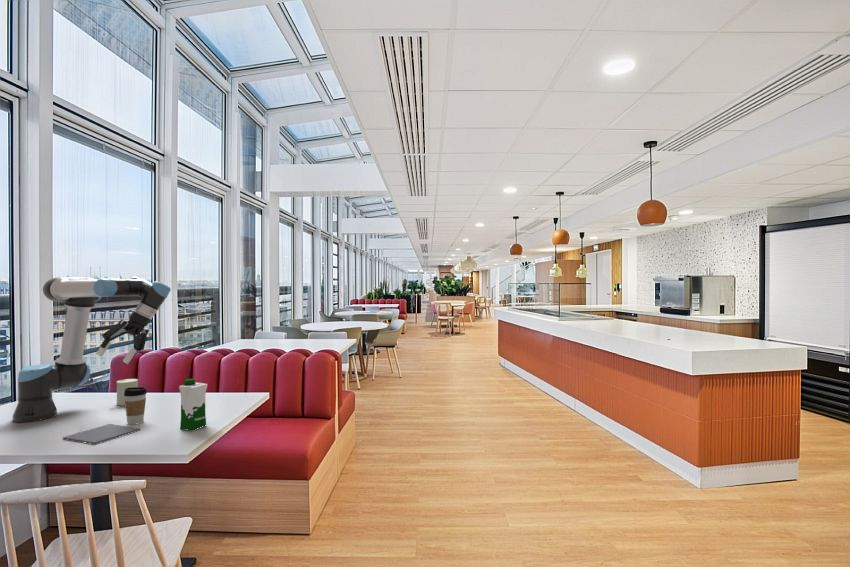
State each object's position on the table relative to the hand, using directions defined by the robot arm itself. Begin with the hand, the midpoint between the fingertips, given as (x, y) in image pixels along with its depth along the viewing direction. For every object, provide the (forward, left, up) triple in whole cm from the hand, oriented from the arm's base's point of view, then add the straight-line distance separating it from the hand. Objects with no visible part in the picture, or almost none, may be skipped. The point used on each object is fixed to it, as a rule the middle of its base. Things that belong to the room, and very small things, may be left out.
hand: (112, 359), depth 187 cm
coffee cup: (+2, +9, -29) cm, 30 cm away
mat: (+5, -7, -29) cm, 30 cm away
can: (-33, +31, -29) cm, 53 cm away
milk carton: (+32, +12, -29) cm, 45 cm away
